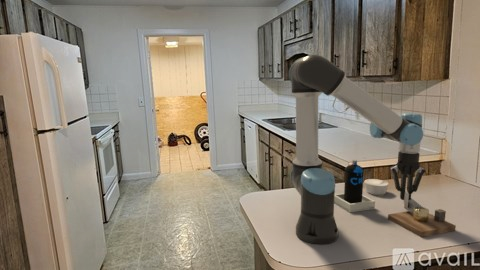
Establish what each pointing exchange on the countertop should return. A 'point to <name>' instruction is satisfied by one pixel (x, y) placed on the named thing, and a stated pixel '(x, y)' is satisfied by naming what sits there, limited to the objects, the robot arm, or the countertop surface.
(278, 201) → the countertop surface
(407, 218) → the crank base
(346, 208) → the tray
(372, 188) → the ramekin
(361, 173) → the aerosol can
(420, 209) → the crank lever
